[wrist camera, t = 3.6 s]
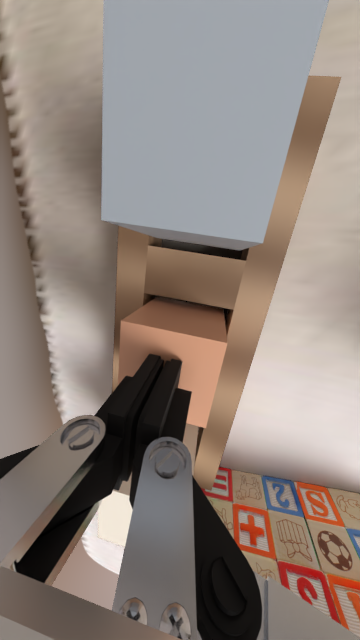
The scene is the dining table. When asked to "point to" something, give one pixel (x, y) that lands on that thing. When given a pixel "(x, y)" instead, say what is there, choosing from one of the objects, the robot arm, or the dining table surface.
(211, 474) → the button board
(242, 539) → the stack of blocks
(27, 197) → the dining table surface
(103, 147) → the button slate
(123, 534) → the button cream
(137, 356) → the peach block
